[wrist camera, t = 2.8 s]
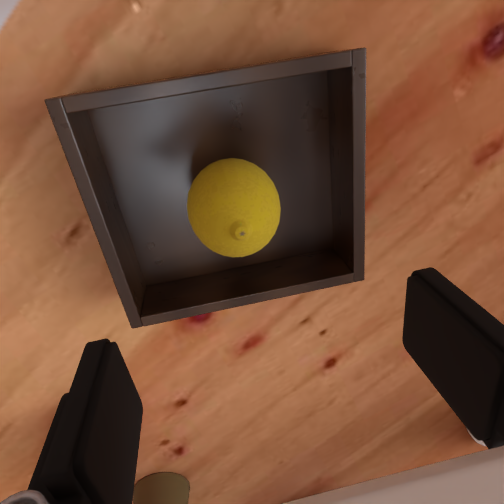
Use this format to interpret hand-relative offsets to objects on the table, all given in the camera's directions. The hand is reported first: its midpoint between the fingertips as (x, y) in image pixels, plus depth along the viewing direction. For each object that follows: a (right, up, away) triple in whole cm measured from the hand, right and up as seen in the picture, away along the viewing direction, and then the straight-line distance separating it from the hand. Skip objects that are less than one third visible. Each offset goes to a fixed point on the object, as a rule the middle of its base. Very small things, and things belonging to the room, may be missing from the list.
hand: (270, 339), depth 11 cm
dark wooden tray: (-2, +7, +14) cm, 16 cm away
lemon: (-2, +7, +14) cm, 16 cm away
